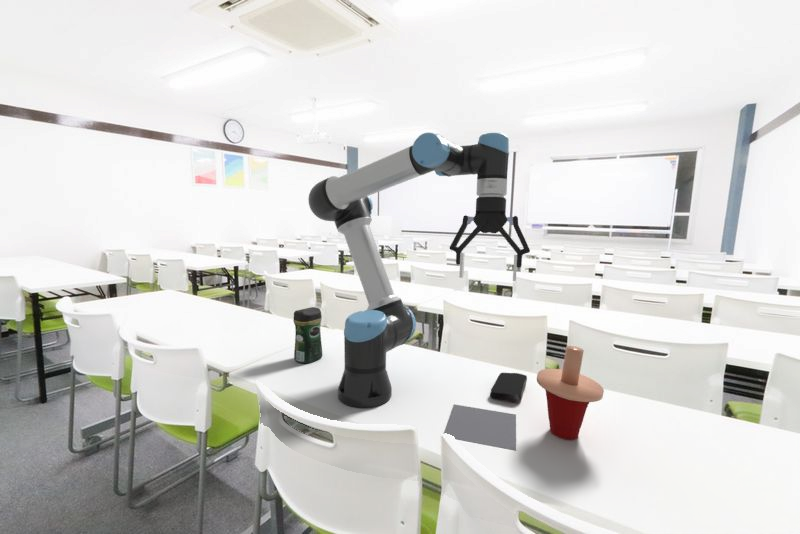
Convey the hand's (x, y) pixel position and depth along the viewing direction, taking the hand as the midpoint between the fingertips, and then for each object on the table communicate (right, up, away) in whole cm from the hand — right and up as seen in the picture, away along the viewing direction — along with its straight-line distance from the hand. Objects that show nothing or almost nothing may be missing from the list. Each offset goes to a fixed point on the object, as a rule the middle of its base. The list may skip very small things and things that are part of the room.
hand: (487, 278), depth 97 cm
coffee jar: (-56, -30, +35) cm, 72 cm away
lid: (+16, -25, -12) cm, 32 cm away
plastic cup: (+16, -37, -11) cm, 41 cm away
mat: (-3, -36, -8) cm, 37 cm away
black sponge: (+9, -34, +11) cm, 37 cm away
